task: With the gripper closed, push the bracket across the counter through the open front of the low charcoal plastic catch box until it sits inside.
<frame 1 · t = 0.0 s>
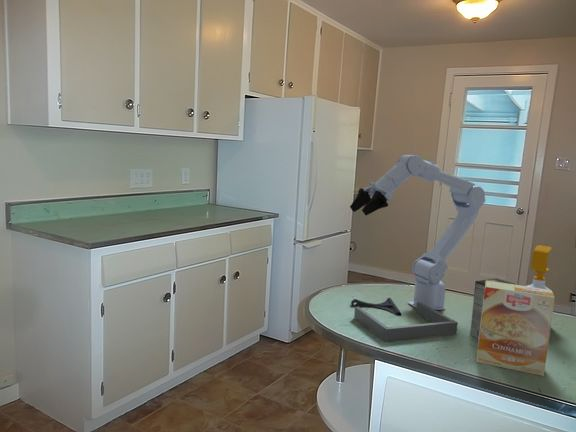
hand: (357, 211, 139), 32 cm above the table, tool tilted 50°, fingers open, 7 cm apart
catch box: (403, 325, 135), on the table
bracket: (373, 308, 151), on the table
soap bottle: (533, 324, 142), on the table
coffeecake box: (508, 364, 113), on the table
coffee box: (489, 337, 130), on the table
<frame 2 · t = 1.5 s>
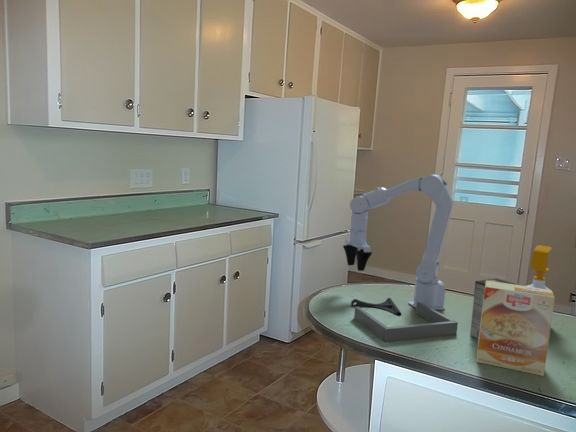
hand: (355, 267, 163), 9 cm above the table, tool pointing down, fingers open, 7 cm apart
nothing on the table moved.
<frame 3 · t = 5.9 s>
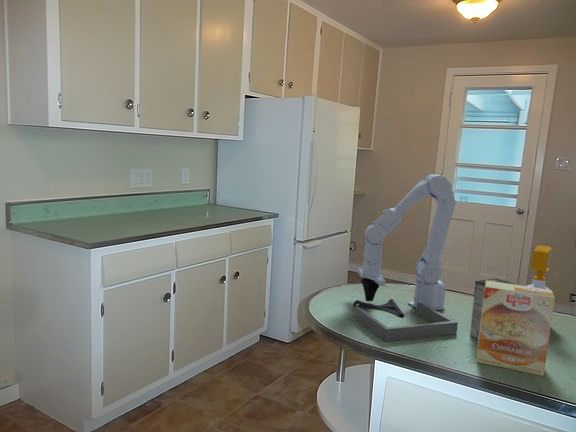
hand: (369, 300, 154), 1 cm above the table, tool pointing down, fingers closed
bracket: (376, 310, 150), on the table, touching gripper
everything else where it was.
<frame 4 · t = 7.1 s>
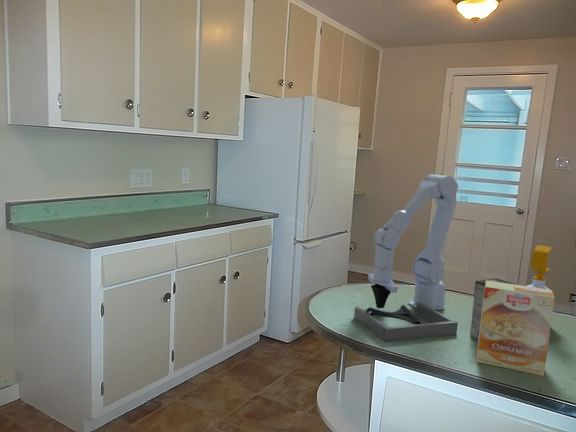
hand: (380, 307, 147), 1 cm above the table, tool pointing down, fingers closed
bracket: (389, 317, 143), on the table
everything else where it was.
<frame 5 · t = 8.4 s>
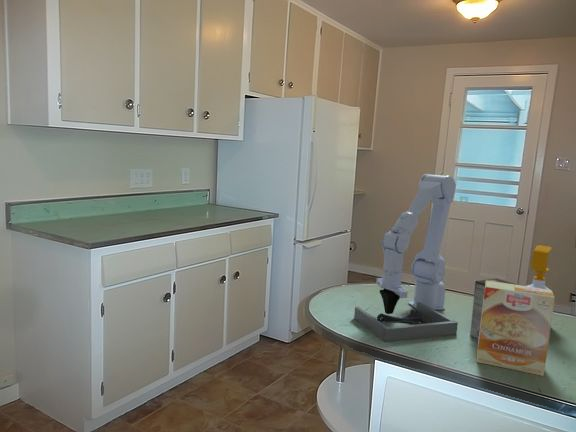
hand: (388, 313, 142), 1 cm above the table, tool pointing down, fingers closed
bracket: (400, 323, 139), on the table
everything else where it was.
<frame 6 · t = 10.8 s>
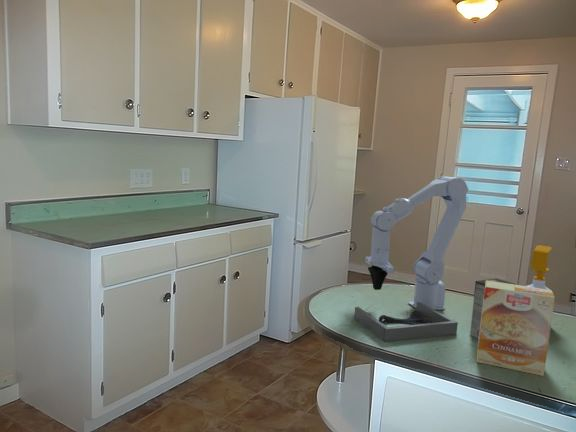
hand: (377, 289, 149), 6 cm above the table, tool pointing down, fingers closed
nothing on the table moved.
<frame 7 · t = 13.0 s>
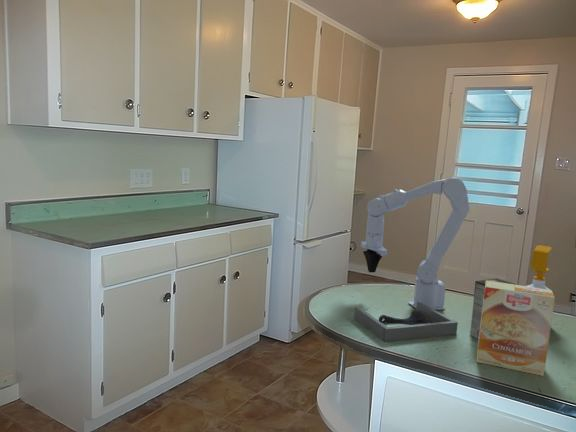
hand: (371, 271, 158), 9 cm above the table, tool pointing down, fingers closed
nothing on the table moved.
at the end: bracket inside the target area (2.7 cm from its centre), on the table; bracket moved 14.5 cm from its start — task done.
